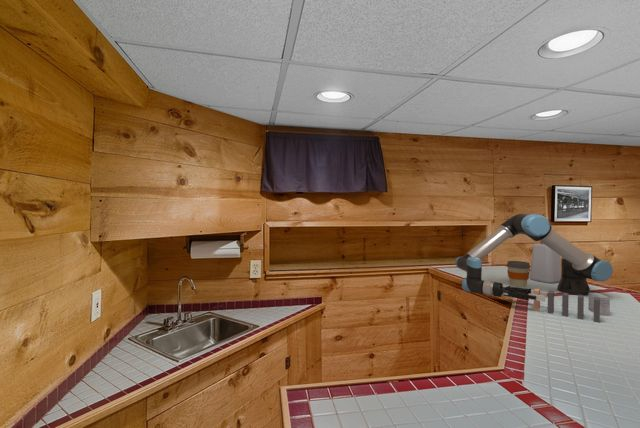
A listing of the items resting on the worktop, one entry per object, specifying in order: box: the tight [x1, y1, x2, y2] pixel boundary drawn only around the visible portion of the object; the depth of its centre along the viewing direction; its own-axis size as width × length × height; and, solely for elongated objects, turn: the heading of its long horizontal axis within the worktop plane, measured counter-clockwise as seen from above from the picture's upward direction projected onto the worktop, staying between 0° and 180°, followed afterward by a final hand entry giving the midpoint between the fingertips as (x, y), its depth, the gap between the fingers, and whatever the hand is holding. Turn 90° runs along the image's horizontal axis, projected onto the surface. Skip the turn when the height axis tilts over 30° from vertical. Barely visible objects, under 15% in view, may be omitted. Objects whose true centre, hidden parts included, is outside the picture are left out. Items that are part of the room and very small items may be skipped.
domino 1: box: [547, 289, 555, 315], centre depth 147 cm, size 2×5×10 cm, turn 137°
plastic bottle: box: [529, 241, 561, 284], centre depth 209 cm, size 15×15×28 cm
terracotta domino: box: [533, 288, 541, 312], centre depth 151 cm, size 2×5×10 cm, turn 137°
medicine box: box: [588, 292, 611, 316], centre depth 146 cm, size 8×4×9 cm, turn 168°
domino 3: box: [577, 295, 585, 320], centre depth 140 cm, size 2×5×10 cm, turn 138°
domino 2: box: [561, 292, 570, 318], centre depth 144 cm, size 2×5×10 cm, turn 137°
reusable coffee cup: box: [506, 260, 531, 288], centre depth 197 cm, size 13×12×15 cm
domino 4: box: [593, 297, 601, 324], centre depth 136 cm, size 2×5×10 cm, turn 138°
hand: (545, 297), depth 149 cm, fingers open, 7 cm apart
